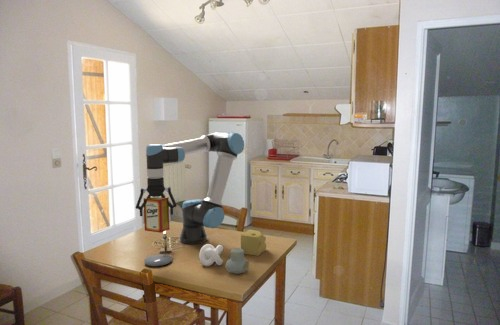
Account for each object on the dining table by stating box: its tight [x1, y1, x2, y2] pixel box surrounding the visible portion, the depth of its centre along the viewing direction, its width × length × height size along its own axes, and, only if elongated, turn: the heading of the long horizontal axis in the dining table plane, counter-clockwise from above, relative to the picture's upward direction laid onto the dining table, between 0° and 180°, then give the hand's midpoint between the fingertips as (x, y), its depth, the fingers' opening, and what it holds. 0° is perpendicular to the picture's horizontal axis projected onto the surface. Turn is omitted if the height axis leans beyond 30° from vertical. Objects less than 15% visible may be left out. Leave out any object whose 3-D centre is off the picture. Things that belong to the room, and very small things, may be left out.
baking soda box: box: [143, 196, 170, 234], centre depth 175 cm, size 10×6×16 cm
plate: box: [143, 253, 173, 267], centre depth 178 cm, size 13×13×1 cm
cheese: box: [240, 229, 267, 257], centre depth 191 cm, size 10×11×10 cm
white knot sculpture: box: [198, 243, 224, 267], centre depth 174 cm, size 11×12×9 cm
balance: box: [159, 227, 172, 254], centre depth 191 cm, size 6×14×14 cm, turn 11°
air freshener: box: [225, 247, 250, 275], centre depth 166 cm, size 11×8×10 cm
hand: (156, 222), depth 175 cm, fingers closed on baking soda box, 11 cm apart
